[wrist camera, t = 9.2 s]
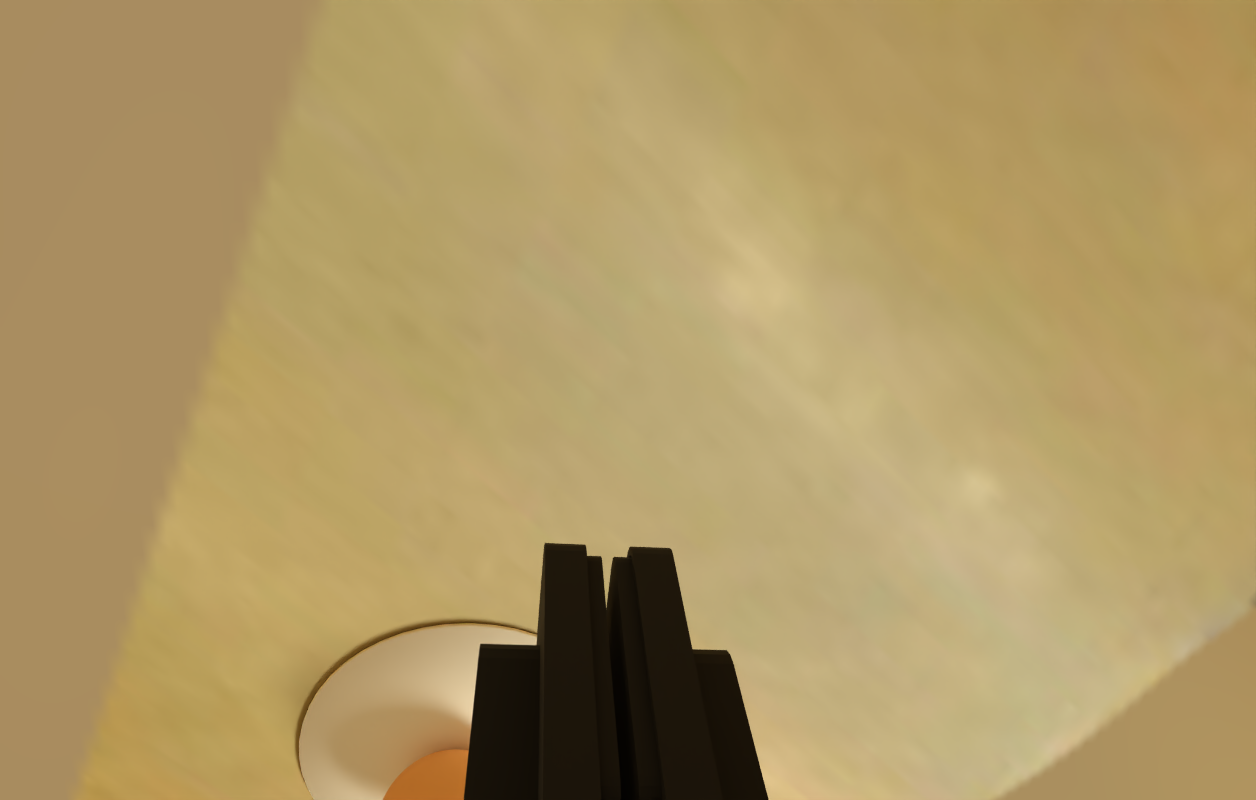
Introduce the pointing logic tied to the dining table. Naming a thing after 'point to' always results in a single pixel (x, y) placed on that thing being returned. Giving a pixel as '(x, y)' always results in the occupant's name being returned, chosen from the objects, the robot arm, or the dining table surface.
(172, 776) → the dining table surface
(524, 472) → the dining table surface
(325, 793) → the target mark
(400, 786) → the ball
